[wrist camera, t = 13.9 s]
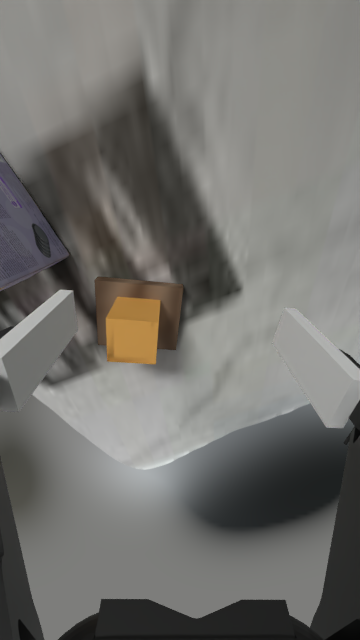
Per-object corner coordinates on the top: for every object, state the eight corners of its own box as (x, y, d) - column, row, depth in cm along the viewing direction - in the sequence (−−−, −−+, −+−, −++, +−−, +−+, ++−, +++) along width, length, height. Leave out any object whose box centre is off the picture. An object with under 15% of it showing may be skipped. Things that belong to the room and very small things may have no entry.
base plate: (182, 284, 40) (183, 288, 38) (175, 344, 45) (175, 349, 44) (98, 276, 39) (94, 280, 37) (101, 339, 44) (98, 344, 42)
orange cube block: (160, 300, 39) (158, 322, 32) (157, 336, 42) (155, 364, 35) (117, 296, 38) (105, 318, 31) (117, 333, 41) (107, 361, 34)
